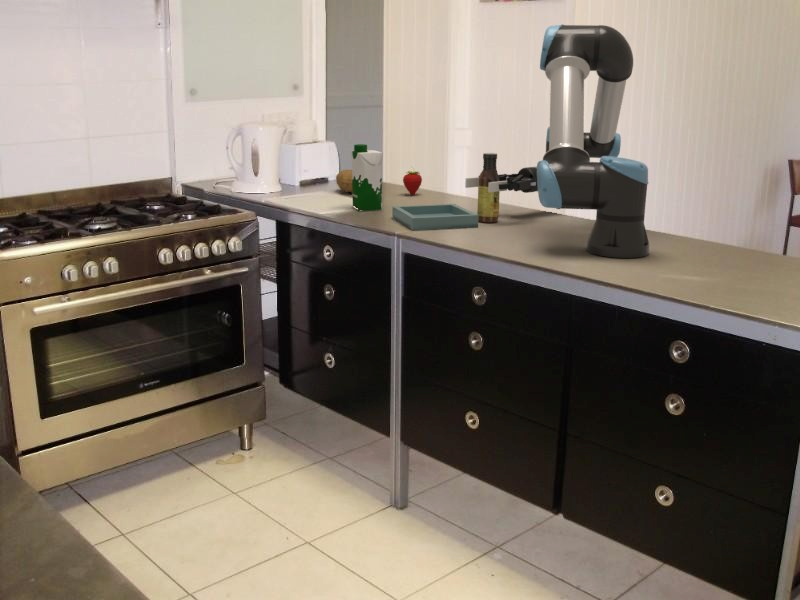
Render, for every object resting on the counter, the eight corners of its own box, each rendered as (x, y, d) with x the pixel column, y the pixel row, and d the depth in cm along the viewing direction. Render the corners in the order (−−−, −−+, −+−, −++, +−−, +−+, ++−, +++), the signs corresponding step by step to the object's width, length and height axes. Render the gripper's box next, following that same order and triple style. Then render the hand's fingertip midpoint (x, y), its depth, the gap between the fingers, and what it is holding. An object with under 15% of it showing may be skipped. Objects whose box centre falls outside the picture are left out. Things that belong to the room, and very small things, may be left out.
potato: (353, 188, 313) (353, 166, 311) (373, 194, 302) (373, 171, 300) (329, 191, 308) (329, 168, 306) (349, 196, 297) (349, 173, 295)
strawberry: (398, 195, 299) (399, 166, 297) (412, 193, 305) (412, 164, 302) (412, 197, 296) (412, 168, 293) (425, 195, 302) (426, 166, 299)
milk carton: (349, 207, 276) (348, 143, 271) (375, 205, 280) (376, 143, 274) (358, 211, 268) (357, 146, 263) (385, 210, 272) (385, 145, 266)
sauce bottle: (497, 224, 252) (500, 155, 246) (475, 222, 253) (478, 154, 248) (499, 219, 258) (502, 152, 253) (478, 218, 259) (480, 151, 254)
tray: (478, 227, 247) (478, 215, 246) (412, 230, 241) (412, 218, 240) (453, 215, 265) (454, 203, 264) (392, 218, 259) (392, 206, 258)
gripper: (559, 196, 255) (503, 203, 243) (508, 187, 272) (452, 193, 260) (561, 171, 253) (504, 176, 240) (509, 163, 270) (453, 167, 258)
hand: (477, 185), depth 250 cm, fingers open, 9 cm apart
